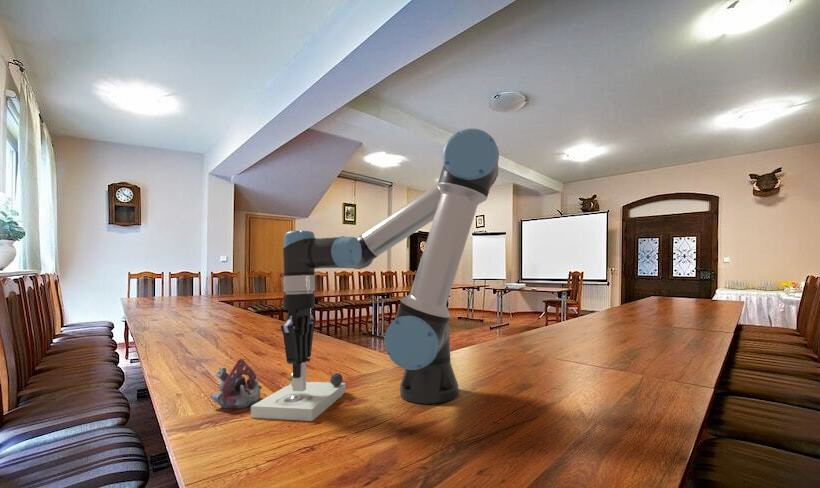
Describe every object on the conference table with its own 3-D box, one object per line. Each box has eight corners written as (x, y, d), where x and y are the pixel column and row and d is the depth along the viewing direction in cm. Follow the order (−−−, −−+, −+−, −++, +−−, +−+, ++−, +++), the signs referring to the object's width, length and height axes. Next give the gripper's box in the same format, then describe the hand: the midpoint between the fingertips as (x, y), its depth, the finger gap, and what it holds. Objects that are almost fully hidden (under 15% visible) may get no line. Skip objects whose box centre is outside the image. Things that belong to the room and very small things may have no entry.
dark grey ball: (344, 384, 95) (344, 371, 96) (339, 387, 92) (339, 375, 93) (333, 383, 96) (333, 371, 96) (328, 387, 93) (328, 374, 93)
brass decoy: (303, 382, 98) (303, 370, 98) (297, 386, 95) (297, 373, 95) (292, 382, 99) (292, 370, 99) (286, 385, 95) (286, 373, 96)
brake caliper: (245, 403, 83) (220, 360, 86) (214, 429, 85) (191, 386, 88) (277, 388, 94) (254, 350, 97) (249, 412, 96) (227, 374, 99)
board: (294, 390, 99) (294, 381, 99) (345, 392, 96) (345, 383, 96) (250, 417, 81) (250, 406, 81) (312, 421, 78) (312, 409, 78)
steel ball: (304, 405, 87) (303, 392, 86) (298, 412, 83) (298, 399, 83) (292, 405, 87) (291, 392, 87) (285, 411, 84) (285, 398, 84)
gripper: (298, 291, 97) (299, 381, 95) (270, 294, 84) (269, 398, 82) (324, 291, 95) (325, 382, 93) (299, 294, 82) (299, 400, 80)
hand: (299, 390), depth 87 cm, fingers closed
